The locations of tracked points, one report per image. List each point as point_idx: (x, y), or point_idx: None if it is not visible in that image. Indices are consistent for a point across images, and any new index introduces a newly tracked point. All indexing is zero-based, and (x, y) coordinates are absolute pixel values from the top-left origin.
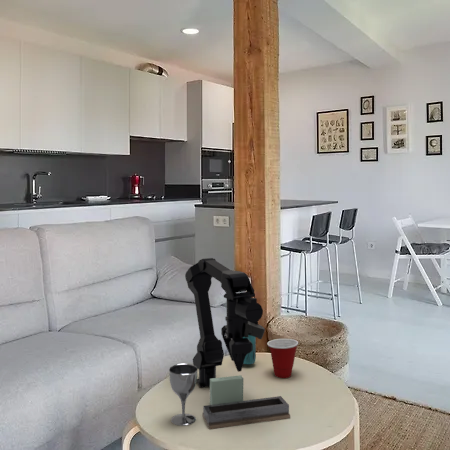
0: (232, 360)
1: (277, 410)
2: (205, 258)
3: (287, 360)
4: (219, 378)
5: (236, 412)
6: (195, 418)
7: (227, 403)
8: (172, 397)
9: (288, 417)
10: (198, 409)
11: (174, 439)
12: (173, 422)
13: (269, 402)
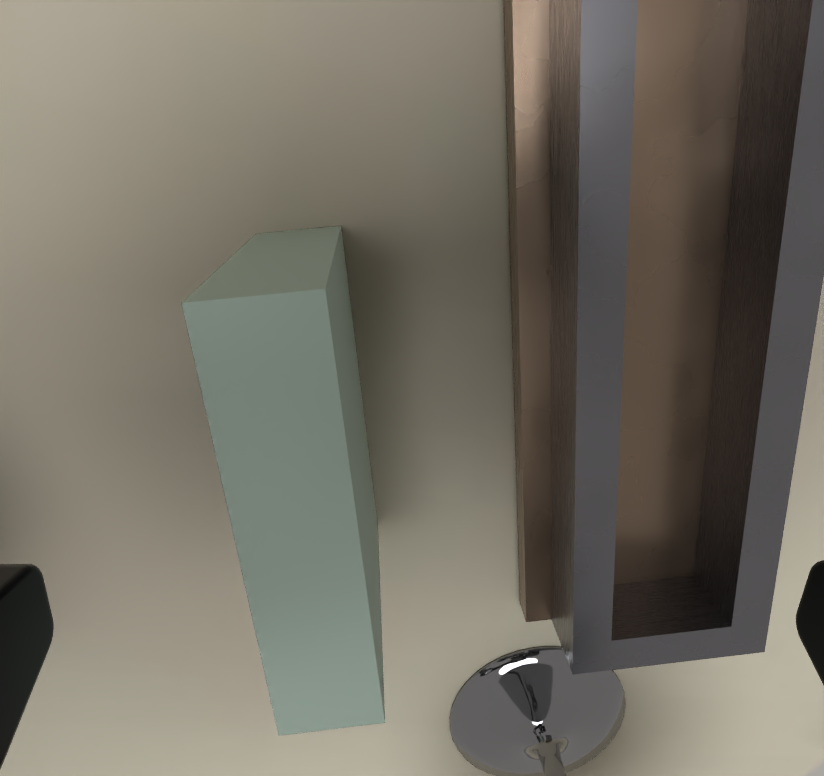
0: (51, 632)
1: None
2: None
3: None
4: (288, 633)
5: (795, 420)
6: (551, 651)
7: (590, 476)
8: (160, 769)
9: None
10: (401, 620)
11: (768, 763)
12: (566, 769)
13: None
